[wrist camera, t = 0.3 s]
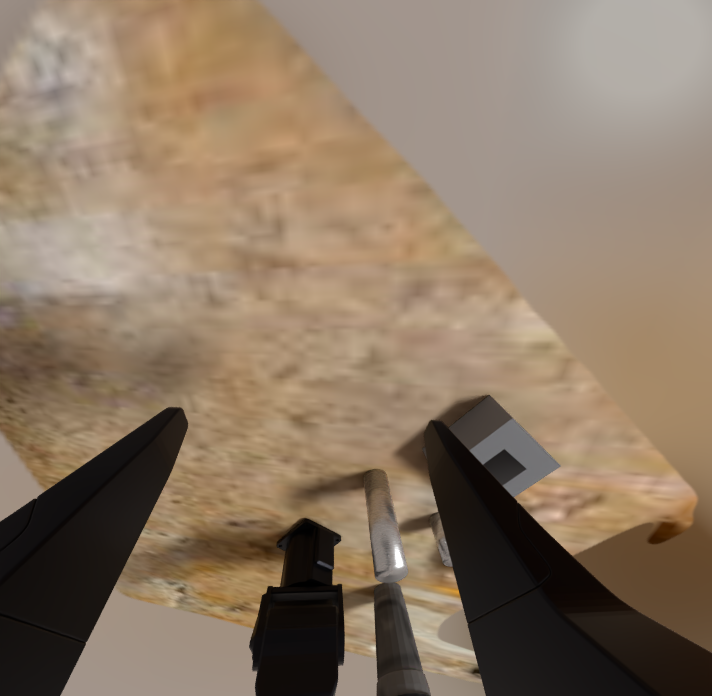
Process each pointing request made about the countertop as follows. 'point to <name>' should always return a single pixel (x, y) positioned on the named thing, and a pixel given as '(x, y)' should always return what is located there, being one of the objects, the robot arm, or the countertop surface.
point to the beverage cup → (396, 646)
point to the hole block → (503, 446)
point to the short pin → (440, 538)
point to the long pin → (383, 529)
